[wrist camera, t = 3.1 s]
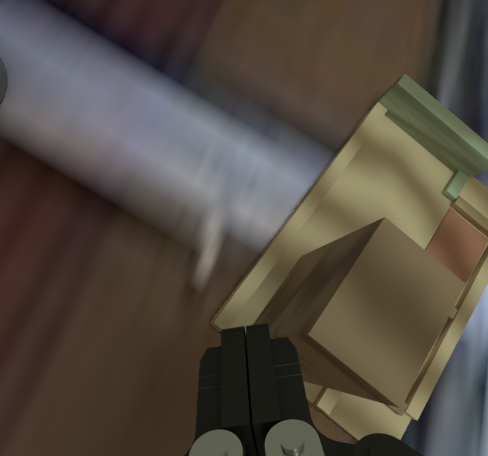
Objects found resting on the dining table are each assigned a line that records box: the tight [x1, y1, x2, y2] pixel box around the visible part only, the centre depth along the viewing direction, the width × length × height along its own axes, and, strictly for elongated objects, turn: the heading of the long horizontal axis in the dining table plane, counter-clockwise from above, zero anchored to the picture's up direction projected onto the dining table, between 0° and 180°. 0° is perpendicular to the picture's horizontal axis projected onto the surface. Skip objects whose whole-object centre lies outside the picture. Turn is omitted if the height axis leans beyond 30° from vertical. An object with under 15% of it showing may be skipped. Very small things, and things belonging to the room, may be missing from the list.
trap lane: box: [210, 74, 488, 441], centre depth 37 cm, size 27×18×5 cm, turn 143°
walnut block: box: [253, 217, 466, 408], centre depth 29 cm, size 8×6×13 cm
